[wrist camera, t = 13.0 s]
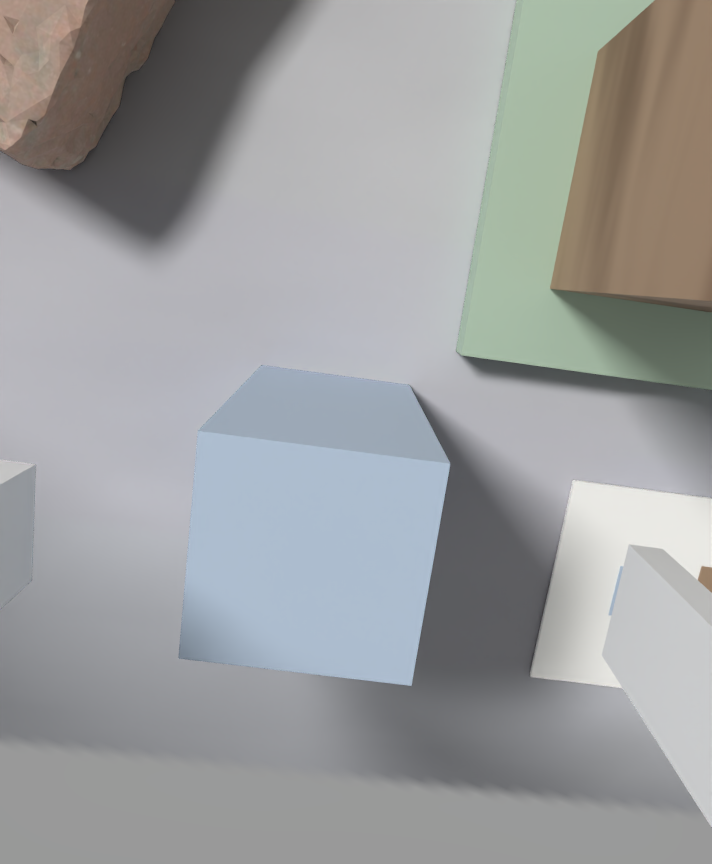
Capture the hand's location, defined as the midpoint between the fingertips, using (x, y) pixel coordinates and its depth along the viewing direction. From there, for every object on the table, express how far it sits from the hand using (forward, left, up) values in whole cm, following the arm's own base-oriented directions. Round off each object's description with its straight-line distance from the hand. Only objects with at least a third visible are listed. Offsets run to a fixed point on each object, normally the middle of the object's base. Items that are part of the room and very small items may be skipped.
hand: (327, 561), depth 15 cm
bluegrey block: (0, 0, -10) cm, 10 cm away
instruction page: (+14, -4, -10) cm, 17 cm away
